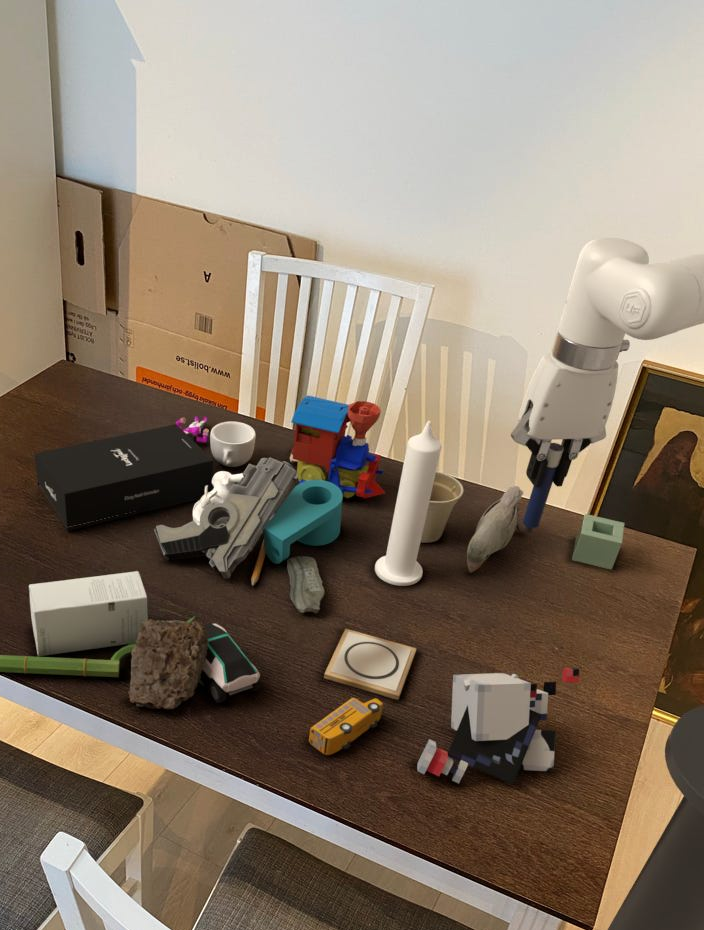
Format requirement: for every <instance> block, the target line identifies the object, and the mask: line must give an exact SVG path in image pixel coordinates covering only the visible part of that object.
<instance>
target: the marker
mask: <svg viewBox="0 0 704 930" xmlns="http://www.w3.org/2000/svg"><path fill="white" fill-rule="evenodd" d="M563 450H564V448H563V446H562V445H561V443H557V442H551V444H550V447H549V449H548V452H547V455H546V460H547V461H548V465H547V468H546V471H545V475H544V478H543V481H542V484H541V486H540V487H534V485H533V486H532V490H531V492H530V496H529V500H528V503H527V505H526V509H525V512H524V515H523V519H522V524H523V526H524V527H525V528H524V532H525V533H528V534H530V533H531V534H532V532H533V529H536V528H538V527H539V526H540V522H541V519H542V516H543V513H544V511H545V507H546V504H547V501H548V497H549V495H550V492H551V489H552V485H553V484H554V483H553V480H554V476H555V473H556V470H557V467H558V465H559V462H560V459H561V456H562V453H563Z"/></svg>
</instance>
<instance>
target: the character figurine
mask: <svg viewBox="0 0 704 930" xmlns="http://www.w3.org/2000/svg"><path fill="white" fill-rule="evenodd" d="M199 418H200V417H199V416H198V415H195V416H194V421H193V422H192V423H191V424H189V426H188V427H186V428H183V425H184V424H186V423H187V417H185V416H184V417H181V418H179V419H177V420H175V424H177V425H178V426H179V427H180V428H181V429H182V430H183V431H184V432H185V433H186V434H187V435H188V436H189V437H190V438H191V439H192V440H193V441H194V442H195V443H202V444H206V443H207V441H208V437H209V431H210V430H209V429H208V428H204V426H205V425H206V424H207V421H208V419H209V417H208V416H204V417H203V419H202V420H201V421H200V419H199ZM182 424H183V425H182ZM203 428H204V429H203ZM202 429H203V431H202ZM201 431H202V437H200V436H199V435H200V434H201Z"/></svg>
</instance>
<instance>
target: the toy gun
mask: <svg viewBox="0 0 704 930" xmlns="http://www.w3.org/2000/svg"><path fill="white" fill-rule="evenodd" d="M242 473H243V476H244V477H242V478H241V482H239V483H238V482H237V483H234V484H233V485H232V486H231V488H230V489H229V493H230V494H229V495H228V497H227V499H226V500H224V502H223V504H215V505H214V503H213V502H211V503H210V504H208V505H207V506H206V507H205V508H204V509H203V511H202V513H201V515H200V525H197V524H196V522H195V521H193V520H191V521H190V522H187V523H186V524H184V525H182V526H178V527H170V526H167V525H164V524H159V525H156V526H155V528H153V530H154V534H155V536H156V539H157V540H158V545H159V547H160V549H161V551H162V554H163V556H164V558H165V559H166V560H167V561H170V560H172V561H176V560H182V559H191V558H198V557H204V556H205V557H206V558H207V559H208V561H209V562H208V564H209V565H210V567H211V568H212V570H213V571H214V572H216V571H219V573H220V574H221V576H222V578H223V579H229V580H230V579H231V578H230V577H231V576H232V573H234V571H235V569H236V568H237V566H238V565H239V564H241V562H243V561H244V560H246V558H247V556H248V555H249V554H250V553H251V552H252V551H253V549H254V547H255V546H256V545H257V543H258V540H260V538H261V536H262V535H263V534H264V528H265V526H266V525H267V524H268V522H269V521H270V518H271V517H272V515H273V514H275V513H276V511H277V510H278V508H279V507H280V504H281V503H282V501H283V499H284V498H285V496H286V494H287V492H288V491H289V489H290V488H291V486H292V484H293V483H294V481H295V482H299V479H298V476H297V469H295V468H294V467H293V465H292V464H290V463H289V462H287V461H285V460H283V461H280V460H278V459H275V458H272V457H268V458H267V457H262V458H260V460H259V461H258V463H257V465H254V464H251V463H248V465H247V466H246V468H245V470H244V471H243V472H242ZM222 517H229V518H230V519H229V521H228V523H227V524H226V525H225V524H223V523H222V524H220V525H214V524H215V522H216V521H217V520H218V519H219V518H222Z"/></svg>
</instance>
